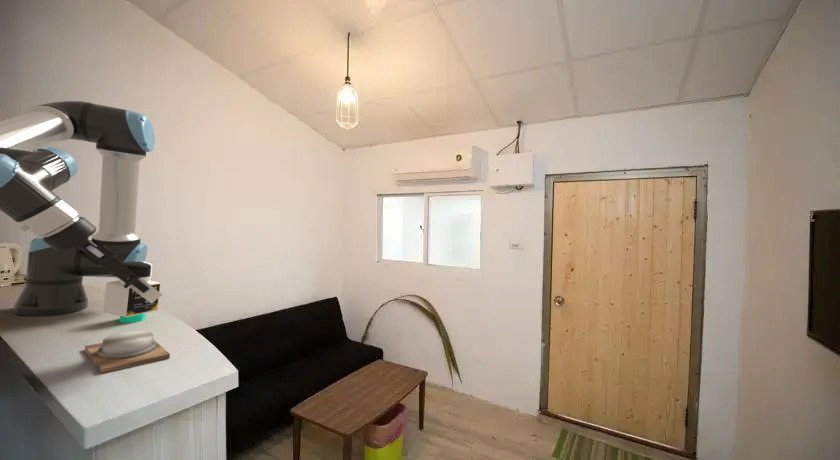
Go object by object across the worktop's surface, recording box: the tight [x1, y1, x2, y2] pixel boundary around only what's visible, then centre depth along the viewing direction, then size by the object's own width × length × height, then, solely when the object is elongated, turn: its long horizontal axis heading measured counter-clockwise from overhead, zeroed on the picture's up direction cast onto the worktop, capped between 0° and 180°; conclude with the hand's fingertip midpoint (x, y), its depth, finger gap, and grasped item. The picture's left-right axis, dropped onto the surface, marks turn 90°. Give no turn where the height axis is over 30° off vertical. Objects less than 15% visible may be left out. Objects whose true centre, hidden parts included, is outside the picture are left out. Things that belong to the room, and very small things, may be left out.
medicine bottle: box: [102, 261, 161, 317], centre depth 76 cm, size 7×7×12 cm
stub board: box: [84, 330, 171, 374], centre depth 77 cm, size 16×12×4 cm
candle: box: [118, 313, 146, 324], centre depth 98 cm, size 6×6×12 cm
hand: (149, 294), depth 79 cm, fingers closed on medicine bottle, 9 cm apart
